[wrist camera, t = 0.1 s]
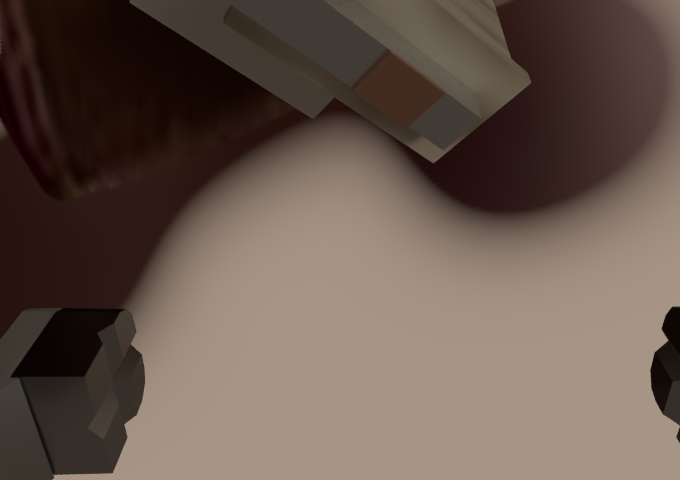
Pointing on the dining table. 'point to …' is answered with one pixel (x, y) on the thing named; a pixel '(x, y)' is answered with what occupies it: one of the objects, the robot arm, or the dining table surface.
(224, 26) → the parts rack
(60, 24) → the dining table surface
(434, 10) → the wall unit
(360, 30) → the bar
